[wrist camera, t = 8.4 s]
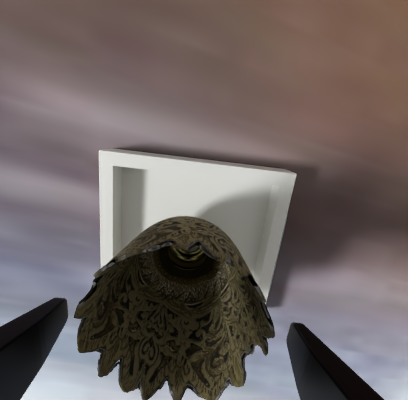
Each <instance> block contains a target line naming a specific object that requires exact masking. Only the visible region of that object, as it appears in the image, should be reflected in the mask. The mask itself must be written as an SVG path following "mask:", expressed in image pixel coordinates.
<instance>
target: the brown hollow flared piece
mask: <svg viewBox="0 0 408 400" xmlns="http://www.w3.org/2000/svg"><path fill="white" fill-rule="evenodd" d="M197 246H198V247H199V248H198V249H197V250H195V251H191V252H189V251H190V250H191V249H192V248H193V247H197ZM185 250H187V251H185ZM93 276H94V277H95V279H94V280H93V285H92V288H91V290H90V291H89V292H88V294H87V295H86V296H85V297H84V298H83V299H82V300H81V301H80V302H79V304H78V306H77V308H76V311H75V314H74V318H77V319H82V320H81V323H80V326H79V328H78V334H77V344H78V351H79V352H80V353H86V352H93V351H97V352H100V353H101V354H100V356H101V357H100V359H98V368H97V369H98V376H99V377H103V376H106V375H108V374H109V373H110V372H111V371H112V370H113V368H115V367H116V366H117V364H119V385H120V387H121V389H122V391H123V392H127V393H128V392H129V391H134V390H135V389H137V388H139V389H140V391H141V396H142V400H148V399H149V398H151V397H152V396H153V395H154V394H155V393H156V391H157V390H158V389H161V388H162V387H163V385H164V384H165V381H168V385H169V390H170V394H171V396H172V398H173V400H181V399H182V397H183V395H184V393H185V390H186V389H187V388H189V389H191V390H192V391H193V392H194V393H195V394H196V395H197V396H198V397H201V398H204V399H206V400H218V399H219V398H220V396H221V395H222V393H223V391H224V390H225V388H227V387H228V385H229V384H231V385H232V386H235V387H241V386H243V385H244V383H245V380H246V371H245V357H246V356H247V355H249V354H253V353H254V348H255V346H256V345H258V346H260V347H261V348H262V351H263V353H264V355H265V356H266V355H267V354H268V343H267V338H268V339H269V338H274V337H275V332H274V326H273V322H272V320H271V317H270V314H269V312H268V310H267V307H266V304H265V302H266V299H265V297H264V295H263V293H262V291H261V289H260V287H259V286H258V284H257V283H256V281H255V279H254V277H253V275H252V274H251V272H250V270H249V268H248V266H247V264H246V262H245V261H244V259H243V257H242V255H241V253H240V252H239V250H238V248H237V247H236V245H235V244H234V243H233V241H232V240H231V239H230V237H229V236H228V235H227V234H226V233H225V232H224V231H222V230H221V229H220V228H219V227H217V226H216V225H214V224H213V223H211V222H209V221H206V220H204V219H201V218H197V217H191V216H177V217H171V218H167V219H164V220H162V221H159V222H157V223H155V224H153V225H151V226H150V227H148V228H147V229H146V230H144V231H143V232H141V233H140V234H139V235H138V236H137V237H135V238H134V239H133V240H132V241H131V242H130V243H129V244H128V245H126V246H125V247H124V248H123V249H122V250H121V251H120V252H119V253H118V254H117V255H116V256H115V257H113V258H112V259H111V260H110V261H109V262H108V263H107V264H106V265H104V266H103V267H102V268H101V269H99V270H98V271H97V272H96V273H95V274H94V275H93ZM119 359H120V362H117V361H118V360H119ZM116 362H117V363H116ZM115 363H116V364H115ZM193 389H194V390H195V391H194V390H193Z"/></svg>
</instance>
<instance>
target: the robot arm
mask: <svg viewBox="0 0 408 400" xmlns="http://www.w3.org/2000/svg"><path fill="white" fill-rule="evenodd" d="M67 318H68V307H67V300H66V299H65V298H53V299H51V300H49V301H48V302H46V303H44V304H42V305H40V306H38V307H36V308H34V309H33V310H31V311H29V312H27V313H25V314H23V315H21V316H20V317H18V318H16V319H14V320H12V321H10V322H8V323H6V324H5V325H3V326H1V327H0V400H20V399H21V398H22V396H23V394H24V393H25V391H26V390H27V388H28V387H29V385H30V384H31V382H32V381H33V379H34V378H35V376H36V375H37V373H38V372H39V370H40V368H41V367H42V365H43V364H44V362H45V360H46V358H47V357H48V355H49V353H50V351H51V349H52V347H53V345H54V344H55V342H56V340H57V338H58V336H59V334H60V332H61V331H62V329H63V327H64V325H65V323H66V321H67ZM287 347H288V351H289V356H290V360H291V364H292V369H293V373H294V377H295V382H296V386H297V390H298V393H299V396H300V399H301V400H384V399H383V398H382V397H381V396H380V395H379V394H378V393H377V392H375V391H374V390H373V389H372V388H371V387H370V386H369V385H368V384H367V383H366V382H365V381H364V380H363V379H361V378H360V377H359V376H358V375H357V374H356V373H355V372H354V371H353V370H352V369H351V368H350V367H349V366H348V365H346V364H345V363H344V362H343V361H342V360H341V359H340V358H339V357H338V356H337V355H336V354H335V353H334V352H333V351H331V350H330V349H329V348H328V347H327V346H326V345H325V344H324V343H323V342H322V341H321V340H320V339H319V338H318V337H316V336H315V335H314V334H313V333H312V332H311V331H310V330H309V329H308V328H307V327H306V326H305V325H303V324H302V323H294V322H293V323H291V325H290V329H289V332H288V336H287Z"/></svg>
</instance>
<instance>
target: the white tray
mask: <svg viewBox="0 0 408 400" xmlns="http://www.w3.org/2000/svg"><path fill="white" fill-rule="evenodd" d="M296 175H297V174H296V173H293V172H291V171H288V170H286V169H280V168H272V167H264V166H255V165H247V164H239V163H230V162H222V161H214V160H205V159H197V158H189V157H180V156H172V155H164V154H155V153H147V152H139V151H130V150H122V149H114V148H113V149H104V150H99V188H100V248H101V268H102V267H103V266H104V265H106V264H107V263H108V262H109V261H110V260H111V259H112V258H113V257H115V256H116V255H117V254H118V253H119V252H120V251H121V250H122V249H123V248H124V247H125V246H126V245H128V244H129V243H130V242H131V241H132V240H133V239H134V238H135V237H137V236H138V235H139V234H140V233H141V232H143V231H144V230H146V229H147V228H148V227H150V226H151V225H153V224H155V223H157V222H159V221H162V220H164V219H167V218H171V217H177V216H191V217H197V218H201V219H204V220H206V221H209V222H211V223H213V224H214V225H216V226H217V227H219V228H220V229H221V230H222V231H224V232H225V233H226V234H227V235H228V236H229V237H230V239H231V240H232V241H233V243H234V244H235V245H236V247H237V248H238V250H239V252H240V253H241V255H242V257H243V259H244V261H245V262H246V264H247V266H248V268H249V270H250V272H251V274H252V275H253V277H254V279H255V281H256V283H257V284H258V286H259V287H260V289H261V291H262V293H263V295H264V297H265V299H266V301H267V297H268V295H269V293H270V289H271V284H272V280H273V276H274V272H275V268H276V264H277V259H278V255H279V251H280V247H281V243H282V238H283V234H284V230H285V226H286V222H287V218H288V217H287V213H288V209H289V204H290V200H291V196H292V192H293V188H294V183H295V179H296ZM198 248H199V247H198V246H197V247H193V248H192V249H191V250H190V251H189V252H191V251H195V250H197V249H198ZM185 251H187V250H185ZM265 304H266V302H265Z"/></svg>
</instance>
